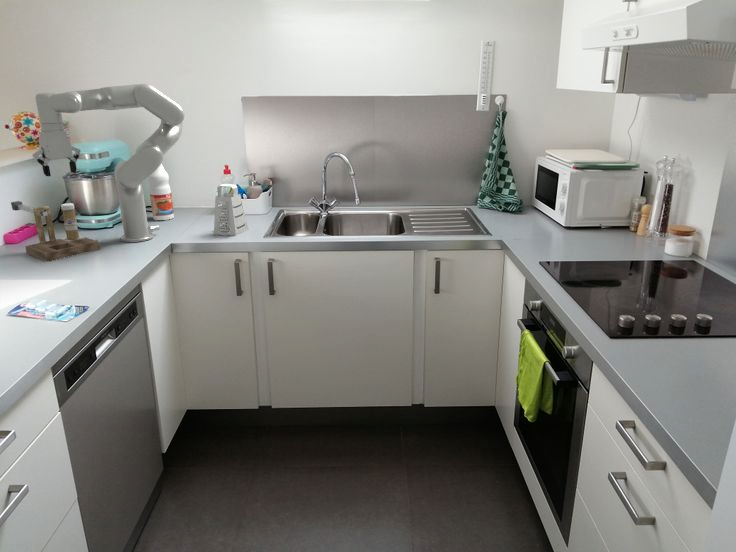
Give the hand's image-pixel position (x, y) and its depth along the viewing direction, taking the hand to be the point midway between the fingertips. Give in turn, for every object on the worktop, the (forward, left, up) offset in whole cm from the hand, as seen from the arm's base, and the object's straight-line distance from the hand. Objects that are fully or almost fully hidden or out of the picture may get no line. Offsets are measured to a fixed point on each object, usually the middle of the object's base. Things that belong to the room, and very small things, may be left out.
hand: (61, 174), depth 223 cm
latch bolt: (+8, -14, -15) cm, 22 cm away
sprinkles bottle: (0, 0, -25) cm, 25 cm away
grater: (-51, +34, -28) cm, 67 cm away
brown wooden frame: (+6, +4, -28) cm, 29 cm away
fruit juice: (-48, -11, -28) cm, 57 cm away
